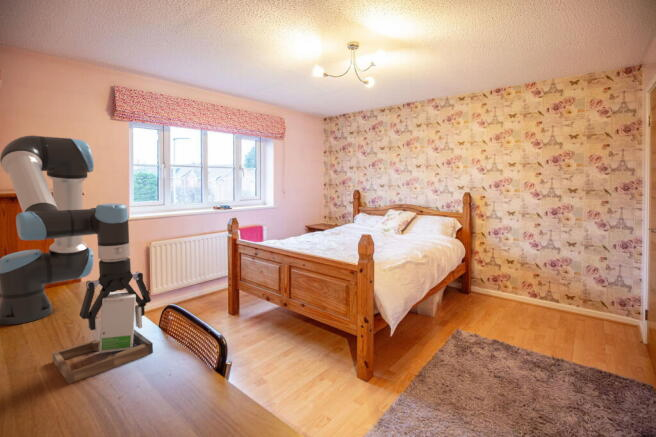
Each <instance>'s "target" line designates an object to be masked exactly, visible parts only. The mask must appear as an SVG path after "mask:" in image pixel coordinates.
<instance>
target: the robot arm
mask: <svg viewBox="0 0 656 437" xmlns="http://www.w3.org/2000/svg"><path fill="white" fill-rule="evenodd" d="M0 166H1V168H2V170H3V171H4V172H5V174H7V175H9V177H10V181H11V183H12V186H13V189H14V192H15V195H16V197H17V200H18V203H19V206H20V209H21V211H22V212H19V213H17V215H16V216H15V225H16V226H15V227H16V231H17V235H18V238H19V239H20V240H22V241H43V240H51V239H53V240H54V242H53V243H52V244H51V245H49V248H48V251H49V252H43V251H42V250H41V249H38V248H37V249H26V250H21V251H16V252H12V253H9V254H6V255H4V256H2V257H1V258H0V325H5V326H6V325H7V326H9V325H11V326H12V325H21V324H26V323H29V322H33V321H36V320H40V319H43V318H45V317H47V316H49V315H51V314H52V313H53V304H52V303H51V301H50V298H49V297H48V295H47V294H46V292H45V285H49V284H55V283H60V282H66V281H67V282H68V281H72V280H78V279H81V278H82V279H83V278H85V277H88V276H89V275H90V274H91V273H92V271H93V269H94V268H93V267H94V261H95V258H94V252H93V249H92V248H90V247H88V244H87V243H86V242H85V241H83V240H84V238H83V236H91V235H96V236H97V237H96V238H97V254H98V256H97V258H98V259H99V261H98V270H99V272H98V273H99V277H98V279H96V280H92V281H91V280H87V281H86V283H85V285H86V291H85V294H84V298H83V301H82V303H81V304H82V305H81V308H80V312H79V317H81V319H82V320H87V321H88V323H87V324H88V329H89V330H90V331H93V332H92V333H93V340H96V341H97V342H98V341H100V330H101V328H100V317H98V316H97V315H98V314H99V312H100V310H101V309H102V299H103V298H106V297H107V296H108V295H109V294H110V292H118V291H124V290H125V292H128V293H130V294H136V304H135V318H134V320H135V326H136V328H138V329H142V328H143V316H145V314H146V311H145V307H146V305H147V304H148V303H150V302H151V301H152V299H151V297H150V293H149V292H148V290H147V286H146V285H145V282H144V274H143V272H140V271H136V272H133V273H132V271H131V269H132V268H131V258H130V256H131V252H130V251H131V250H130V231H129V230H130V229H129V226H130V224H129V219H130V218H129V212H128V207H127V205H126V204H125V203H102V204H97V205H96V206H95V207H92V208H84V207H83V181H85V180H87V178H88V173H91V172H93V171H94V168H95V162H94V156H93V153H92V150H91V147H90V145H89V144H88V143H87V141H85V140H82V139H76V138H70V137H69V138H68V137H57V136H56V137H55V136H40V135H24V136H20V137H18V138H15V139H13V140H11V141H10V142H9V143H8V144H6V146H4V148H3V149H2V151H1V153H0ZM43 172H46V177H48V178H49V179H51V181H52V191H51V190H50V187H49V185H48V183H47V181H46V178H45V176H44V174H43ZM83 208H84V209H83ZM131 280H135V283H136V285H137V287H138V289H139V292H140V294H141V296H142V298H141V297H140V295H138V293H137V291H135V290H134V289H133V287H132V286H131V285H130V282H131ZM98 285H100V286H101V289H100V290H99V294H98V295H97V296H96V299H95V301H94V302H93V299H94V296H95V292H96V291H95V290H96V289H97V288H98ZM92 303H93V305H92Z"/></svg>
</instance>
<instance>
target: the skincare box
mask: <svg viewBox="0 0 656 437" xmlns="http://www.w3.org/2000/svg"><path fill="white" fill-rule="evenodd" d="M136 304H137V302H136V294H130V293H128V292H127V291H115V292H110V294H109V295H108V296H107V297H106V298H103V299H102V306H101V314H100V315H101V316H100V346H99V351H98V352H99V354H101V353H111V352H119V351H120V352H121V351H125V350H128V349H131V348H133V344H134V342H133V334H134V330H135V305H136Z"/></svg>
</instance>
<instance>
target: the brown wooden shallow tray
mask: <svg viewBox="0 0 656 437" xmlns="http://www.w3.org/2000/svg"><path fill="white" fill-rule="evenodd" d="M133 344H135V345H136V346H134V347H132V348H131V349H128V350H121V351H120V352H119V351H118V352H117V353H115V354H114V353H113V354H109V355H108V356H107V357H106V358H105V359H102V360H99V361H96V362H93V363H90V364H88V365H85V366H82V367H79V368H76V369H72V368H71V367H70V365H69V364H68V363H67V361H66V360H68V359H70V358H75V357H77V356H80V355H83V354H86V353H89V352H99V346H100V341H98V342H97V341H96V340H95V339H93V340H90V341H87V342H83V343H80V344H77V345H75V346H74V345H73V346H70V347H67V348H64V349H61V350H60V349H59V350H58V351H57V350H56V351H54V352H52V354H51V355H52V362H53V364H54V365H55V366H56V368H57V370H58V371H59V372H60V374H61V375H62V377H63V378H64V380H65V381H66V382H67V383H68V385H69V384H70V385H71V384H73V383H75V382H78V381H81V380H83V379H86V378H89V377H91V376H94V375H96V374H99V373H103V372H105V371H107V370H111V369H113V368H115V367H119V366H121V365H124V364H127V363H128V362H133V361H135V360H137V359H140V358H142V357H145V356H147V355H150V354H153V353H154V348H153V347H154V346H153V342H152V341H151V340H149V339H148V338H146V337H145V336H144V335H142V334H141V333H140V332H139V331H137V330H136V329H134V334H133Z"/></svg>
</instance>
